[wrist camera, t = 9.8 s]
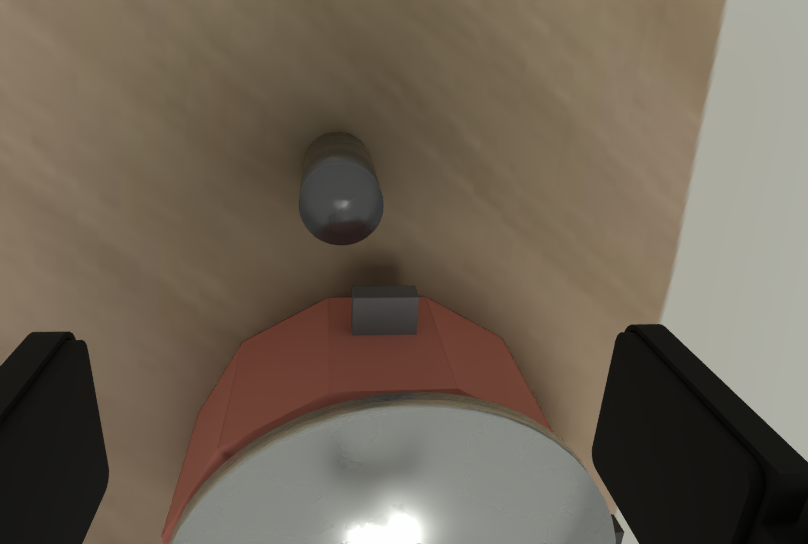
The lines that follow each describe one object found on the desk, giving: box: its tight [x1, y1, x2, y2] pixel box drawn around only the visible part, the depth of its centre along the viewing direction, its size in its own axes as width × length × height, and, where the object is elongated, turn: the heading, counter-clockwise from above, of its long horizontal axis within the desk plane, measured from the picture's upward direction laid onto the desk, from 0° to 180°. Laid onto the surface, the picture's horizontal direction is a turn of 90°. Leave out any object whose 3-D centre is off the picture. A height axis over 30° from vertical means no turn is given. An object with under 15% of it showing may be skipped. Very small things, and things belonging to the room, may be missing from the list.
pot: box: [162, 286, 553, 544], centre depth 30 cm, size 19×22×8 cm
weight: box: [299, 132, 383, 245], centre depth 25 cm, size 3×3×6 cm
